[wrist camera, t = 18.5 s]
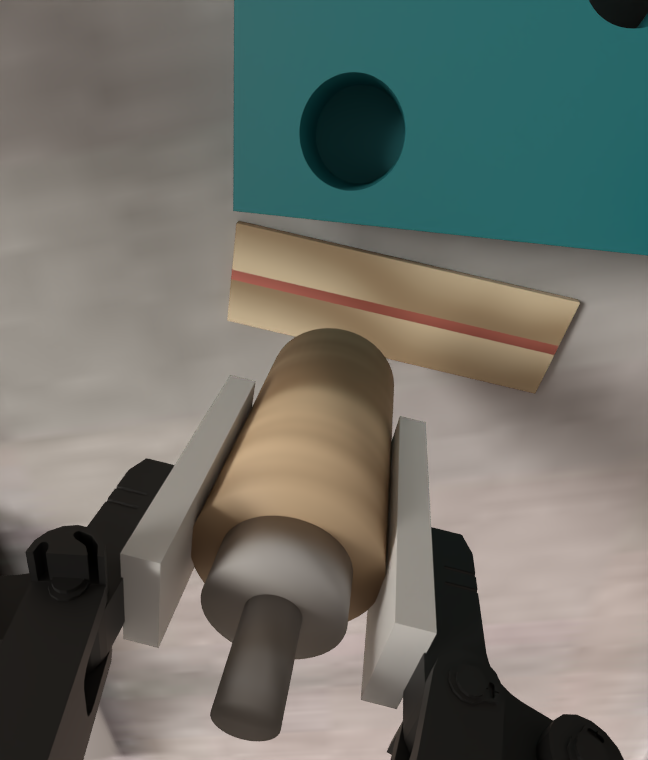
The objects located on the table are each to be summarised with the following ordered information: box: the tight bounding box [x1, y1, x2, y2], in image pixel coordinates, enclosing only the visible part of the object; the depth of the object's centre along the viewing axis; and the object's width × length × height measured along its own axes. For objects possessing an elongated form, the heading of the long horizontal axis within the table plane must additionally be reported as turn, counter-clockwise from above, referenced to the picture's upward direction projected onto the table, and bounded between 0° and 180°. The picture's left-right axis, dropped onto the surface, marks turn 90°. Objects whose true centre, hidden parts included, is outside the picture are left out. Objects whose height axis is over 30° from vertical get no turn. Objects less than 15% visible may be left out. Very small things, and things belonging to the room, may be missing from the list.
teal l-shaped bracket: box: [233, 0, 648, 255], centre depth 14 cm, size 18×11×10 cm, turn 86°
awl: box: [191, 328, 394, 741], centre depth 13 cm, size 4×4×11 cm
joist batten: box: [227, 221, 580, 393], centre depth 24 cm, size 5×16×1 cm, turn 79°
